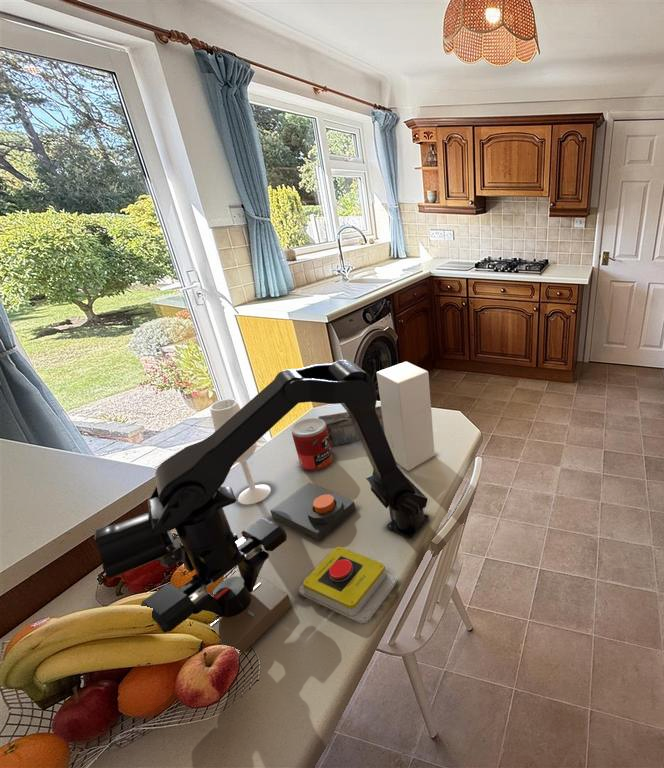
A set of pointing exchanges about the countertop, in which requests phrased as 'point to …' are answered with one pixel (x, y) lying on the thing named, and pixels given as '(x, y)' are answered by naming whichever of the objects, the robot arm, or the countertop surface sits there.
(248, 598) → the knob
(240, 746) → the countertop surface
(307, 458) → the canned food
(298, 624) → the countertop surface
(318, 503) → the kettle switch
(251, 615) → the dial console
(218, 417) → the champagne flute
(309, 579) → the emergency button
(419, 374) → the tall white carton
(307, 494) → the emergency button base
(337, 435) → the beverage carton
